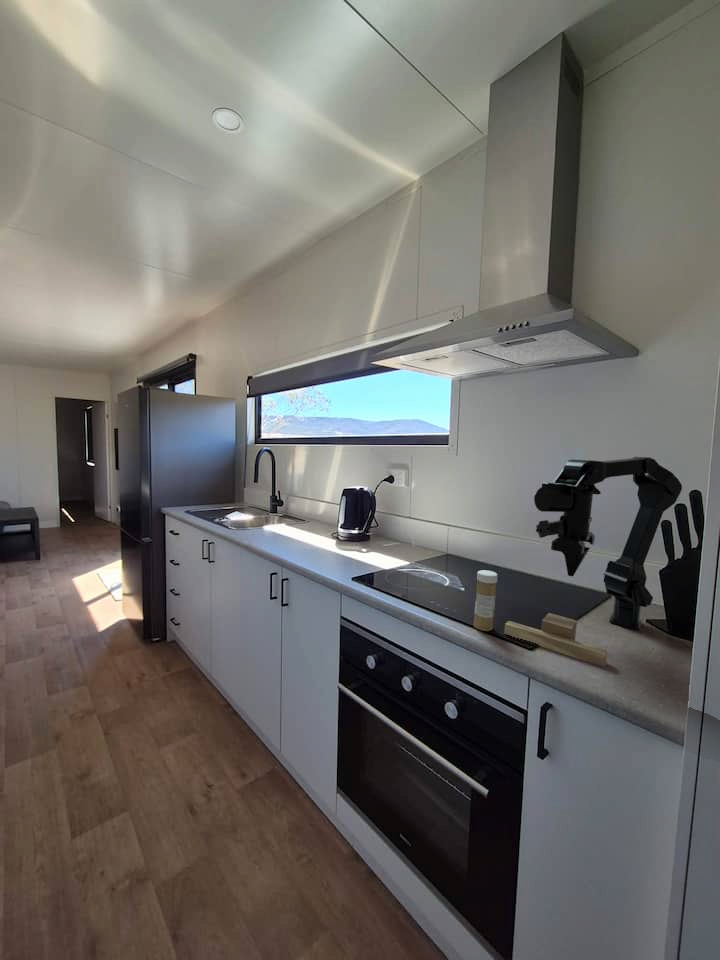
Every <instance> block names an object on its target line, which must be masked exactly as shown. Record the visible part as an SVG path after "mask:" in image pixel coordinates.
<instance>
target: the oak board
mask: <svg viewBox="0 0 720 960" xmlns="http://www.w3.org/2000/svg"><path fill="white" fill-rule="evenodd" d="M504 634H507V635H510V636H512V637H511V638H513V637H515V638H514V639H517V638H519V639H518V640H520V639H523V640H527V641H530V642H533V643H536V644H538V645H539V646H538V645H537V646H538V647H542V648H544V649H548V650H551V651H554V652H557V653H560V654H563V655H567V656H569V657H571V658H574V659H578V660H581V661H585V662H587V663H590V664H594V665H595V666H599V667H603V668H605V667H606V664H607V661H608V660H607V659H608V658H607V657H608V650H607V649H603V648H599V647H597V646H593V645H590V644H587V643H583V642H580V641H577V640H575V641H574V640H571V639H567V638H564V637H561V636H557V635H554V634H551V633H547V632H544V631H541V629H537V628H534V627H530V626H527V625H524V624H521V623H518V622H514V621H510V620H508V621H507V622H506V623H504V631H503V635H504ZM507 635H506V636H507ZM510 636H509V637H510ZM523 640H522V641H523Z"/></svg>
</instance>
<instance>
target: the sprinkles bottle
mask: <svg viewBox="0 0 720 960" xmlns="http://www.w3.org/2000/svg"><path fill="white" fill-rule="evenodd" d="M476 573H477V575H476V582H477V584H476V585H477V586H476V593H475V596H476V597H475V604H474V617H473V619H474V620H473V627H474V628H476V630H477V629H478V631H479V630H480V631H482V632H483V631H485V632H489V631H492V630H493V629H494V626H493V625H494V624H493V623H494V616H495V608H496V607H495V604H496V590H497V583H498V573H497V572H495V571H492V570H485V569H482V570H478V571H477V572H476Z"/></svg>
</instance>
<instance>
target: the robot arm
mask: <svg viewBox="0 0 720 960" xmlns="http://www.w3.org/2000/svg"><path fill="white" fill-rule="evenodd" d="M629 475H630V476H631V475H632V481H633V483H634V484H635V485H636V486H637V487H638V488H637V492H636V493H637V499H638V503H639V509H638V510H637V512H636V516H635V519H634V521H633V524H632V526H631V529H630V532H629V535H628V536H627V541H626V542H625V545H624V548H623V550H622V553H621V556H620V557H619V558H618V559H616V560H615V561H613V560H609V561H608V562H607V566H606V568H605V571H604V572H603V583H604V586H605V591H606V595H609V596H611V597H612V596H613V597H614V599H613V601H614V602H613V607H612V608H613V609H612V610H613V611H612V614H611V615H610V617H609V621H608V622H609V623H610V624H615V625H618V626H622V627H626V628H629V629H633V630H637V631H641V626H642V620H640V619H641V608H642V607H643V608H647V607H648V606H651V604H652V602H653V598H654V597H653V596H652V594H651V593H650V591H649V590H648V589H647V587H646V582H647V575H646V570H645V566H644V565H645V562H646V559H647V556H648V553H649V551H650V549H651V545H652V543H653V540H654V537H655V535H656V533H657V530H658V527H659V524H660V522H661V519H662V517H663V515H664V514H663V513H664V512H665V511H666V510H668V509H670V508H671V507H672V506H674V505H675V504H676V502H677V499H678V498H679V497H680V495H681V492H682V489H683V485H682V483H681V481H680V479H679V478H677V476H676V475H675V474H674V473H673V472H672V471H670V470H668V469H667V468H666V467H663V466H662V465H660V464H659V463H658V461H656V459H654V458H652V457H644V456H643V457H642V456H634V457H631V458H623V459H614V460H613V459H611V460H604V461H599V460H593V459H592V460H591V459H589V460H588V459H570V460H569V459H568V460H567V461H566V462H565V464H564V466H563V468H562V470H561V471H560V472H559V473H558V475H557V476H556V478H555V479H554V480H553V482H552V483H551V482H544V481H543V482H541V487H539V488H538V489H537V491H536V492H535V494H534V497H533V502H534V505H535V507H536V510H538V511H540V512H543V513H545V512H548V513H549V512H551V513H552V512H553V513H554V512H555V513H563V514H561V516H560V517H559V519H558V520H553V521H549V520H548V519H545V520H544V519H543V520H540V521H539V522H538V524H536V526H535V527H536V529H535V532H536V533H537V534H538V537H539V538H540V539H542V538H546V537H548V536H553V535H554V536H556V535H557V538H555V539H553V540H552V541H551V547H550V550H551V551H555V552H559V553H560V552H561V553H562V554H563V556H564V559H565V560H564V561H565V566H566V573H567V576H568V577H571V578H572V577H574V575H576V572H577V571H578V569H579V568H580V566H581V564H582V562H583V561H584V559H585V558H586V555H587V554H588V552H589V551H590V549H591V548H590V547H586V544H585V543H589V545H594V544H595V537H596V536H595V534H594V533H593V532H592V531H590V528H591V527H590V525H591V522H592V520H593V517H591V516H592V508H593V507H592V505H593V496H594V495H601V494H602V491H600V489H598V488H597V487H596V484H598V483H602V482H604V480H605V479H609V478H614V477H622V476H629Z"/></svg>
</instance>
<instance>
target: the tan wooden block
mask: <svg viewBox="0 0 720 960" xmlns="http://www.w3.org/2000/svg"><path fill="white" fill-rule="evenodd" d="M577 623H578V620H575V619H573V618H568V617H565V616H561V615H559V614H554V613H551V612H548V613H547V614H546V615H545V616H544V617H543V618H542V620H541V626H540V627H541V628H540V630H541V631H544V632H547V633H551V634H554V635H557V636H561V637H564V638H567V639H571V640H574V641H576V635H577Z"/></svg>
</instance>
